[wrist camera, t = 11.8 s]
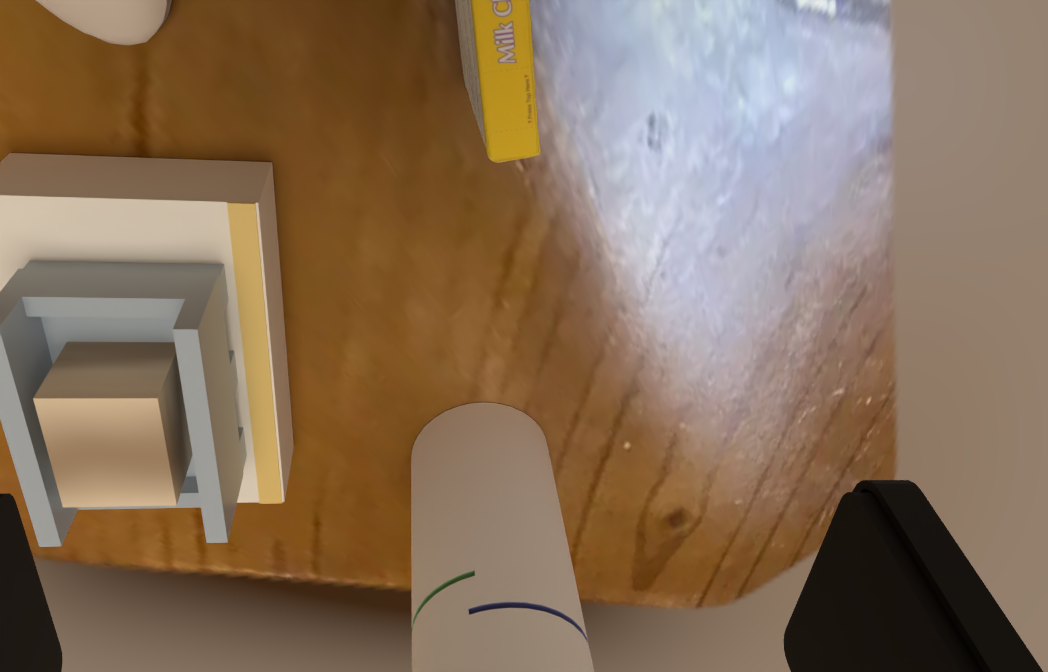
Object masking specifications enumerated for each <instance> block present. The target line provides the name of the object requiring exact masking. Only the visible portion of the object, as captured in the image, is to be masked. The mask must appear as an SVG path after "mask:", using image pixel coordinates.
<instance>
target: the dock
mask: <svg viewBox="0 0 1048 672" xmlns="http://www.w3.org/2000/svg"><path fill="white" fill-rule="evenodd" d="M29 261H84V262H138V263H191V264H224V266H225V274H226V283H227V292H228V303H227V306H226V309H225V312H224V317H225V325H226V334H227V342H228V350H229V351H235V360H236V369H237V377H238V385H237V388H236V392H235V396H234V400H235V408H236V416H237V424H238V427H243V429H244V437H245V446H246V454H247V456H246V461H245V465H244V469H243V479H242V483H241V487H240V492H239V496H238V500H237V503H238V502H259V503H260V504H270V503H282V502H284V501H285V495H286V489H287V483H288V477H289V472H290V466H291V460H292V454H293V448H294V441H293V428H292V415H291V402H290V389H289V376H288V363H287V350H286V337H285V323H284V310H283V297H282V284H281V271H280V258H279V245H278V232H277V218H276V205H275V192H274V179H273V166H272V162H251V161H223V160H195V159H167V158H139V157H111V156H83V155H56V154H28V153H9V154H8V155H7V156H6V157H5V158H4V159H3V160H2V161H1V162H0V291H1V290H2V289H3V288H4V286H5V285H6V284H7V282H8V281H9V280H10V279H11V277H12V276H13V275H14V273H15V272H16V271H17V270H18V269H23V268H24V267H25V266H26V264H27V263H28V262H29Z"/></svg>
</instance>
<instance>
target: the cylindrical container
mask: <svg viewBox="0 0 1048 672" xmlns="http://www.w3.org/2000/svg"><path fill="white" fill-rule="evenodd" d="M411 544H412V672H594V669H593V664H592V659H591V654H590V650H589V644H588V639H587V635H586V630H585V625H584V620H583V616H582V610H581V606H580V601H579V596H578V591H577V586H576V581H575V576H574V572H573V567H572V562H571V557H570V552H569V547H568V543H567V538H566V533H565V528H564V523H563V518H562V513H561V509H560V504H559V499H558V494H557V489H556V484H555V479H554V475H553V470H552V465H551V460H550V455H549V450H548V446H547V441H546V437H545V435H544V433H543V431H542V430H541V428H540V427H539V426H538V424H537V423H536V422H535V421H534V420H533V419H532V418H530V417H529V416H528V415H526V414H525V413H524V412H522V411H519V410H517V409H515V408H513V407H510V406H506V405H502V404H498V403H486V402H483V403H471V404H466V405H461V406H458V407H455V408H452V409H450V410H447V411H445V412H443V413H442V414H440V415H438V416H437V417H435V418H434V419H433V420H431V421H430V422H429V423H428V424H427V425H426V426H425V427H424V428H423V429H422V431H421V432H420V433H419V435H418V436H417V438H416V441H415V443H414V445H413V448H412V455H411Z"/></svg>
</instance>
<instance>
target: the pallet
mask: <svg viewBox="0 0 1048 672" xmlns="http://www.w3.org/2000/svg"><path fill="white" fill-rule="evenodd" d="M227 303H228V292H227V283H226V274H225V266H224V264H191V263H138V262H84V261H29V262H28V263H27V264H26V266H25V267H24V268H23V269H18V270H17V271H16V272H15V273H14V275H13V276H12V277H11V279H10V280H9V281H8V282H7V284H6V285H5V286H4V288H3V289H2V290H1V291H0V420H1V423H2V426H3V429H4V433H5V436H6V439H7V442H8V446H9V449H10V452H11V456H12V459H13V462H14V465H15V469H16V472H17V475H18V478H19V482H20V485H21V488H22V491H23V495H24V498H25V501H26V505H27V508H28V511H29V514H30V518H31V521H32V524H33V527H34V531H35V534H36V537H37V541H38V544H39V547H51V546H62V544H63V542H64V539H65V537H66V535H67V533H68V530H69V528H70V526H71V524H72V522H73V519H74V517H75V515H76V513H77V510H85V509H139V508H194V507H201V510H202V516H203V523H204V529H205V535H206V541H207V543H220V542H228V539H229V535H230V530H231V526H232V522H233V517H234V513H235V509H236V505H237V500H238V496H239V492H240V487H241V483H242V479H243V469H244V465H245V461H246V456H247V454H246V446H245V437H244V429H243V427H238V424H237V416H236V408H235V400H234V396H235V392H236V388H237V385H238V377H237V369H236V360H235V351H229V350H228V342H227V334H226V325H225V317H224V312H225V309H226V306H227ZM66 342H175V348H176V354H177V360H178V367H179V373H180V379H181V385H182V392H183V398H184V404H185V410H186V416H187V423H188V429H189V435H190V441H191V448H192V454H193V455H192V458H191V462H190V465H189V468H188V471H187V474H186V478H185V481H184V484H183V487H182V490H181V493H180V497H179V500H178V503H177V506H119V507H63V506H62V502H61V498H60V495H59V491H58V487H57V484H56V480H55V477H54V473H53V469H52V466H51V462H50V458H49V455H48V451H47V447H46V444H45V440H44V436H43V433H42V429H41V426H40V422H39V418H38V415H37V411H36V407H35V404H34V400H33V398H34V396H35V394H36V393H37V391H38V389H39V388H40V386H41V384H42V383H43V381H44V379H45V378H46V376H47V374H48V373H49V371H50V369H51V368H52V366H53V364H54V362H55V361H56V359H57V357H58V356H59V354H60V352H61V351H62V349H63V347H64V346H65V344H66Z"/></svg>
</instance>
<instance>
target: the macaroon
mask: <svg viewBox="0 0 1048 672" xmlns="http://www.w3.org/2000/svg"><path fill="white" fill-rule="evenodd" d="M36 1H37V2H39V3H40V4H41V5H42V6H43V7H45V8H46V9H47V10H49V11H50V12H51V13H53V14H54V15H56V16H57V17H58V18H60V19H61V20H63V21H64V22H66V23H68V24H69V25H71V26H73V27H75V28H76V29H78V30H80V31H82V32H83V33H86V34H89V35H92V36H95V37H97V38H99V39H101V40H104V41H106V42H108V43H113V44H121V45H134V44H139V43H145V42H147V41H148V40H149V39H150V38H151V37H152V36H153V35H154V34H155V33H156V32H157V31H158V30H159V29H160V28H161V26H162V25H163V23H164V22H165V20H166V19H167V17H168V15H169V10H170V6H171V2H172V0H36Z"/></svg>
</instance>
